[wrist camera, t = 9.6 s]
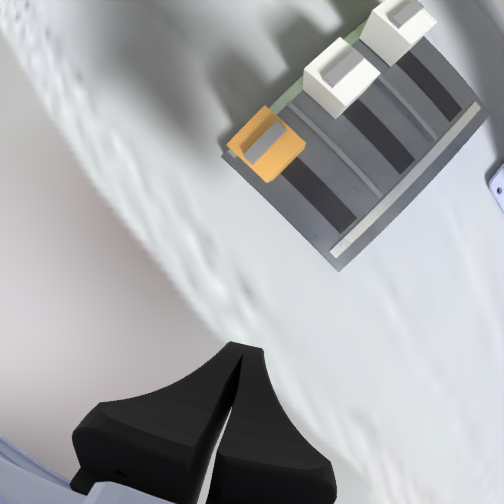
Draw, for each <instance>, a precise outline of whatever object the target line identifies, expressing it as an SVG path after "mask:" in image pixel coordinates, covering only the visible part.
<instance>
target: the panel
mask: <svg viewBox="0 0 504 504" xmlns="http://www.w3.org/2000/svg"><path fill="white" fill-rule="evenodd" d="M368 18H369V17H368ZM368 18H366V19H365V20H364V21H363V22H362V23H360V24H359V25H358V26H357V27H356V28H354V29H353V30H352V31H351V32H350V33H348V34H347V35H346V36H345V37H344V38H343V40H344V41H346V42H347V43H348V44H349V45H350V46H352V47H353V48H354V49H356V50H357V51H358V52H359V53H360V54H361V55H362V56H363V57H365V59H366V60H367V61H368V62H370V63H371V64H372V65H373V66H374V67H375V68H376V69H377V70H378V71H379V72H380V74H379V75H378V77H377V78H376V79H375V80H374V81H373V82H372V83H371V85H370V86H369V87H368V88H367V89H366V90H365V92H364V93H362V94H361V95H360V96H359V97H358V98H357V99H356V100H355V101H354V102H353V103H352V104H351V105H350V106H349V107H348V108H347V109H346V110H345V111H344V112H343V113H342V114H341V115H340V116H339V117H338V118H336V119H334V118H333V117H332V116H331V115H330V114H329V113H328V112H327V111H326V110H325V109H324V108H323V107H322V106H321V105H320V104H318V103H317V102H316V101H315V100H314V99H313V98H312V97H311V96H310V95H308V94H307V93H306V92H305V91H304V90H303V76H304V73H303V74H302V75H301V76H300V77H299V78H298V79H297V80H296V81H295V82H294V83H293V84H292V85H291V86H290V87H288V88H287V89H286V90H285V91H284V92H283V93H282V94H281V95H280V96H279V97H278V98H277V99H276V100H275V101H274V102H273V103H272V104H271V105H270V106H269V107H268V108H269V109H270V110H271V111H272V112H273V113H274V114H275V115H277V116H278V117H279V118H280V119H281V120H282V121H283V122H284V123H285V124H286V125H288V126H289V127H290V128H291V129H292V130H293V131H294V132H295V133H296V134H297V135H298V136H299V137H300V138H301V139H303V140H304V141H305V142H306V145H305V148H304V150H303V151H302V152H301V153H300V154H299V155H298V156H297V157H296V158H295V159H294V160H293V161H292V162H291V163H290V164H289V165H288V166H287V167H286V168H285V169H284V170H283V171H282V172H281V173H280V174H279V175H278V176H277V177H276V178H275V179H274V180H273V181H270V182H268V183H266V182H265V181H264V180H263V179H262V178H261V177H260V176H259V175H258V174H257V173H256V172H255V171H254V170H252V169H251V168H250V167H249V166H248V165H247V164H246V163H245V162H244V161H243V160H242V159H241V158H240V157H239V156H238V155H236V154H235V153H234V152H233V151H232V150H231V149H230V148H228V149H227V150H226V151H225V152H224V154H223V155H222V156H221V157H222V158H223V159H224V160H225V161H226V162H227V163H228V164H229V165H230V166H231V167H233V168H234V169H235V170H236V171H237V172H238V173H239V174H240V175H241V176H242V177H243V178H244V179H245V180H246V181H247V182H248V183H249V184H250V185H251V186H253V187H254V188H255V189H256V190H257V191H258V192H259V193H260V194H261V195H262V196H263V197H264V198H265V199H266V200H267V201H268V202H269V203H270V204H271V205H272V206H273V207H274V208H275V209H276V210H277V211H278V212H279V213H280V214H281V215H282V216H283V217H284V218H285V219H286V220H287V221H288V222H289V223H290V224H291V225H292V226H293V227H294V228H295V229H296V230H297V231H298V232H299V233H300V234H301V235H302V236H303V237H304V238H305V239H306V240H307V241H308V242H309V243H310V244H311V245H312V246H313V247H314V248H315V249H316V250H317V251H318V252H319V253H320V254H321V255H322V256H323V257H324V258H325V259H326V260H327V261H328V262H329V263H330V264H331V265H332V266H333V267H334V268H335V269H336V270H337V271H338V272H340V271H341V270H342V269H343V268H344V267H345V266H346V265H347V264H348V263H349V262H350V261H351V260H352V259H354V258H355V257H356V256H357V255H358V254H359V253H360V252H361V251H362V250H363V249H364V248H365V247H366V246H367V245H368V244H369V243H370V242H371V241H372V240H373V239H375V238H376V237H377V236H378V235H379V234H380V233H381V232H382V231H383V230H384V229H385V228H386V227H387V226H388V225H389V224H390V223H391V222H392V221H393V220H394V219H395V218H396V217H397V216H398V215H399V214H400V213H401V212H402V211H403V210H404V209H405V208H406V207H407V206H408V205H409V204H410V203H411V202H412V201H413V200H414V198H415V197H416V196H417V195H418V194H419V193H420V192H421V191H422V190H423V189H424V188H425V187H426V186H427V185H428V184H429V183H430V182H431V181H432V180H433V179H434V177H435V176H436V175H437V174H438V173H439V172H440V171H441V170H442V169H443V168H444V167H445V166H446V164H447V163H448V162H449V161H450V160H451V159H452V158H453V157H454V156H455V154H456V153H457V152H458V151H459V150H460V149H461V148H462V147H463V145H464V144H465V143H466V142H467V141H468V140H469V139H470V137H471V136H472V135H473V134H474V133H475V132H476V130H477V129H478V128H479V127H480V126H481V125H482V123H483V122H484V121H485V120H486V119H487V117H488V116H489V115H490V112H489V111H488V110H487V108H486V107H485V106H484V104H483V103H482V102H481V100H480V99H479V98H478V96H477V95H476V94H475V92H474V91H473V90H472V89H471V87H470V86H469V85H468V84H467V83H466V81H465V80H464V79H463V78H462V77H461V75H460V74H459V73H458V72H457V71H456V70H455V69H454V67H453V66H452V65H451V64H450V63H449V62H448V61H447V60H446V59H445V57H444V56H443V55H442V54H441V53H440V52H439V51H438V50H437V49H436V48H435V47H434V46H433V45H432V44H431V43H430V42H429V41H428V40H427V39H426V38H425V37H424V36H423V37H422V38H421V39H420V40H419V41H418V42H417V43H416V44H415V45H414V46H413V47H412V48H411V49H410V50H409V51H408V52H406V53H405V54H404V55H403V56H402V57H401V58H400V59H399V60H398V61H397V62H396V63H394V64H393V65H392V66H391V67H390V66H389V65H388V64H387V63H386V62H385V61H384V60H383V59H382V58H381V57H380V56H379V55H378V54H376V53H375V52H374V51H373V50H372V49H371V48H370V47H369V46H368V45H366V44H365V43H364V42H363V41H362V40H361V39H359V38H360V35H361V33H362V31H363V29H364V27H365V25H366V23H367V20H368Z"/></svg>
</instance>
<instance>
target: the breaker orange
mask: <svg viewBox="0 0 504 504" xmlns="http://www.w3.org/2000/svg"><path fill="white" fill-rule="evenodd" d="M226 145H227V146H228V147H229V148H230V149H231V150H232V151H233V152H234V153H235V154H236V155H238V156H239V157H240V158H241V159H242V160H243V161H244V162H245V163H246V164H247V165H248V166H249V167H250V168H251V169H252V170H254V171H255V172H256V173H257V174H258V175H259V176H260V177H261V178H262V179H263V180H264V181H265V182H266V183H268V182H270V181H273V180H274V179H275V178H276V177H277V176H278V175H279V174H280V173H281V172H282V171H283V170H284V169H285V168H286V167H287V166H288V165H289V164H290V163H291V162H292V161H293V160H294V159H295V158H296V157H297V156H298V155H299V154H300V153H301V152H302V151H303V150H304V148H305V145H306V142H305V141H304V140H303V139H301V138H300V137H299V136H298V135H297V134H296V133H295V132H294V131H293V130H292V129H291V128H290V127H289V126H288V125H286V124H285V123H284V122H283V121H282V120H281V119H280V118H279V117H278V116H277V115H275V114H274V113H273V112H272V111H271V110H270V109H269V108H268V107H266V106H265V105H264V106H263V107H262V108H261V109H260V110H259V111H258V112H257V113H256V114H255V115H254V116H253V117H252V118H251V119H250V120H249V121H248V122H247V123H246V124H245V125H244V126H243V127H242V129H241V130H240V131H239V132H238V133H237V134H236V135H235V136H234V137H233V138H232V139H231V140H230V141H229V142H228V143H227V144H226Z"/></svg>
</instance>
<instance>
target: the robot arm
mask: <svg viewBox="0 0 504 504" xmlns="http://www.w3.org/2000/svg"><path fill="white" fill-rule="evenodd" d="M497 188H499V193H497ZM489 189H490V190H491V192H492V194H493V195H494V197H495V199H496V200H497V202H498V204H499V205H500V207H501V209H502V210H503V212H504V163H503V164H502V165H501V167H500V168H499V169H498V170H497V172H496V173H495V174H494V175H493V177H492V178H491V179H490V181H489ZM231 407H232V409H231ZM230 410H231V414H230V417H229V420H228V422H227V425H226V428H225V431H224V434H223V436H222V439H221V442H220V444H219V447H218V449H217V453H216V458H215V463H214V468H213V473H212V479H211V484H210V489H209V494H208V497H207V500H206V503H205V504H334V502H335V500H336V498H337V486H336V480H335V476H334V472H333V468H332V465H331V462H330V461H329V460H328V459H327V458H325V457H324V456H323V455H322V454H321V453H319V452H318V451H317V450H316V449H315V448H314V447H312V446H311V445H310V444H309V443H308V441H307V440H306V439H305V438H304V437H303V436H302V435H301V434H300V432H299V431H298V430H297V429H296V427H295V426H294V425H293V424H292V422H291V421H290V419H289V418H288V416H287V415H286V413H285V411H284V410H283V408H282V406H281V405H280V403H279V400H278V398H277V396H276V394H275V392H274V389H273V387H272V384H271V382H270V379H269V376H268V372H267V369H266V365H265V359H264V351H263V349H262V348H258V347H253V346H249V345H244V344H240V343H235V342H231V341H230V342H228V343H227V344H226V345H225V346H224V347H223V348H222V349H221V350H220V351H219V352H218V353H217V354H216V355H215V356H214V357H212V358H211V359H210V360H209V361H207V362H206V363H205V364H204V365H202V366H201V367H200V368H198V369H197V370H195V371H194V372H192V373H191V374H189V375H188V376H186V377H184V378H183V379H181V380H179V381H177V382H175V383H173V384H171V385H169V386H167V387H164V388H162V389H159V390H157V391H154V392H151V393H148V394H145V395H141V396H138V397H133V398H129V399H124V400H117V401H109V402H100V403H99V404H98V405H97V406H96V407H94V408H93V409H92V410H91V411H90V412H89V413H88V414H87V415H86V416H85V418H84V419H83V420H82V421H81V423H80V424H79V425H78V426H77V427H76V429H75V430H74V431H73V434H72V442H73V446H74V448H75V452H76V455H77V457H78V460H79V463H80V466H81V468H80V469H79V471H78V472H77V473H76V475H75V476H74V478H73V479H72V480H70V479H68V478H66V477H65V476H63V475H61V474H59V473H58V472H56V471H54V470H52V469H51V468H49V467H47V466H46V465H44V464H43V463H41V462H39V461H38V460H36V459H35V458H33V457H31V456H30V455H28V454H27V453H25V452H24V451H23V450H21V449H20V448H18V447H17V446H15V445H14V444H13V443H11V442H10V441H8V440H7V439H6V438H4V437H3V436H1V435H0V504H197V501H198V498H199V494H200V491H201V488H202V485H203V481H204V478H205V475H206V472H207V468H208V465H209V462H210V459H211V455H212V453H213V450H214V447H215V445H216V443H217V440H218V438H219V436H220V433H221V431H222V429H223V426H224V424H225V421H226V419H227V417H228V414H229V412H230Z"/></svg>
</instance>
